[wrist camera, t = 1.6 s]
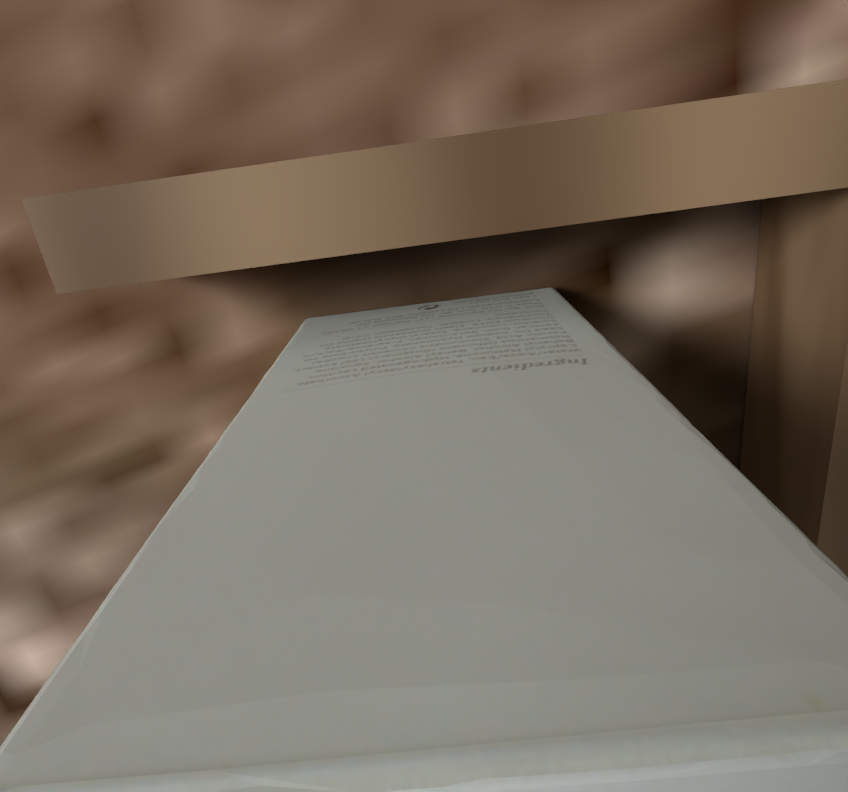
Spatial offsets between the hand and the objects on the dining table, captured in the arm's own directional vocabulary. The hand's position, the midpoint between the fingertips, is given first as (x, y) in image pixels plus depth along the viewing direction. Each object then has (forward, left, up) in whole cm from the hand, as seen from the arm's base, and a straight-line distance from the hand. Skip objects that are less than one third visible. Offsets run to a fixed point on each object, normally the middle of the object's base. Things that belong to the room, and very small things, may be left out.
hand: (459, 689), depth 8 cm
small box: (0, 0, -7) cm, 7 cm away
